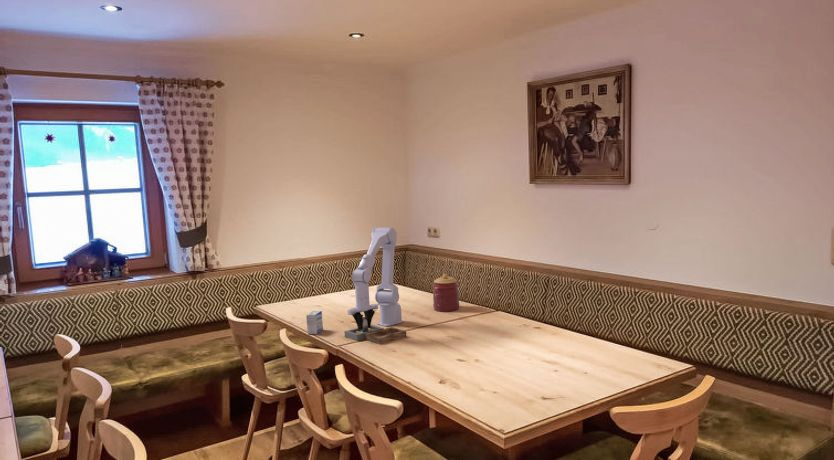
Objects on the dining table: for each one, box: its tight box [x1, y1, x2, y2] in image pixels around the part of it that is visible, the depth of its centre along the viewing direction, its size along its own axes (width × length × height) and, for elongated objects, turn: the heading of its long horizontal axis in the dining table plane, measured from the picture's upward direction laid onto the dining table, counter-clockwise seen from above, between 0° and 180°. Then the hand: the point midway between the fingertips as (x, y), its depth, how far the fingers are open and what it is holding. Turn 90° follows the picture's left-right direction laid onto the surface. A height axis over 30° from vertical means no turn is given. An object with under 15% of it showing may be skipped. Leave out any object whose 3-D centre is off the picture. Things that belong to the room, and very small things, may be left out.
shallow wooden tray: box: [364, 326, 407, 345], centre depth 251 cm, size 14×10×2 cm
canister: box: [432, 273, 461, 313], centre depth 296 cm, size 13×13×18 cm
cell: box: [360, 316, 368, 332], centre depth 256 cm, size 4×4×6 cm
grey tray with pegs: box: [344, 324, 385, 342], centre depth 256 cm, size 14×9×3 cm
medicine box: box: [305, 310, 324, 335], centre depth 265 cm, size 8×4×9 cm, turn 168°
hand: (364, 328), depth 256 cm, fingers closed on cell, 4 cm apart
